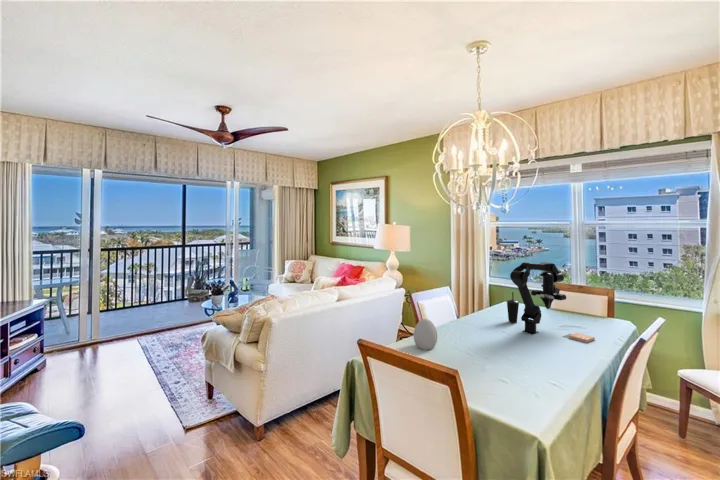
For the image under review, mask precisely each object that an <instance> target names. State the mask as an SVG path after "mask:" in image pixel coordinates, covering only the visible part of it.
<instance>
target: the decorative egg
mask: <svg viewBox="0 0 720 480" xmlns="http://www.w3.org/2000/svg"><path fill="white" fill-rule="evenodd" d="M437 332H438V331H437V327H436V326H435V324H434V323H433V322H432V321H431V320H430V319H428V318H422V319H420V320H419V321H418V322H417V323H416V325H415V326H414V331H413V341H414V343H415V346H416V347H417V348H418V349H420V350H423V351H426V350H427V351H428V350H432V349H434V348H435V346H436V345H437V342H438V333H437Z"/></svg>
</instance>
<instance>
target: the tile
mask: <svg viewBox="0 0 720 480" xmlns="http://www.w3.org/2000/svg"><path fill="white" fill-rule="evenodd" d="M570 334H571V335H569V338H571V339H570V340H573V339H574V340H573V341H576V340H578V341H577V342H580V341H582V342H581V343H584V342H586V343H585V344H589V343H588V342H590V341H593V340H595V341H596V339H595V338H596V337H595V336H592V335H587V334H584V333H580V332H575V333H570ZM569 338H568V339H569ZM593 342H594V341H593Z"/></svg>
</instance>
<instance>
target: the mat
mask: <svg viewBox="0 0 720 480" xmlns="http://www.w3.org/2000/svg"><path fill="white" fill-rule="evenodd" d="M571 334H572V333H568V334H566V335H562V338H566V339H569V340H572V341H575V342H576V341H577V342H580V343H585V344H590V343H593V342H596V339H595V340H593V341H590V342H588V343H586V342H582V341H578V340H574V339H571V338H569V335H571Z"/></svg>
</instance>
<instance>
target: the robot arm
mask: <svg viewBox="0 0 720 480" xmlns="http://www.w3.org/2000/svg"><path fill="white" fill-rule="evenodd" d="M524 270H525V271H524ZM531 270H533V271H539V272H542V273H541V274H540V277H542V284H541V286H540V287H541V288H542V290H540V289H533V290H532V291H531V292H530V290H529V287H528V280H529V279H528V277H530V275H531ZM561 272H562V271H561V270H558V268H557V266H556V264H555V263H554V262H545V261H544V262H539V263H534V262H533V263H532V262H522V263H520V265H519V266H517V267H515V268H514V269H513V270H512V271H511V273H510V276H509V277H510V280H511V281H512V283H513V284H514V285H515V286H516V287H517V289H518V291H519V294H520V297H521V299H522V301H523V305H524V308H523V314H522V315H521V317H520V319H521V321H522V322H524V329H523V330H521V331H522V333H525V334H530V335H536V334H538V333H540V332H539V331H538V330H537V324H540V323H541V320H542V319H541V318H542V311H541V307H540V306H539V305H535V302H534V301H533V298H532V296H534V297H535V296H539V299H541V300H542V302H543V304H544V306H545V308H546V309H547V310H549V309H550V308H551V306H552V303H553V301H555V300H557V301H564V300H567V295H566V294H565V293H561V292H560V291H561V290H560V288H557V287H556V285H555V283H562V282H563V281H564V280H565V278H564V277H565V276H564V274H563V273H561Z"/></svg>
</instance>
